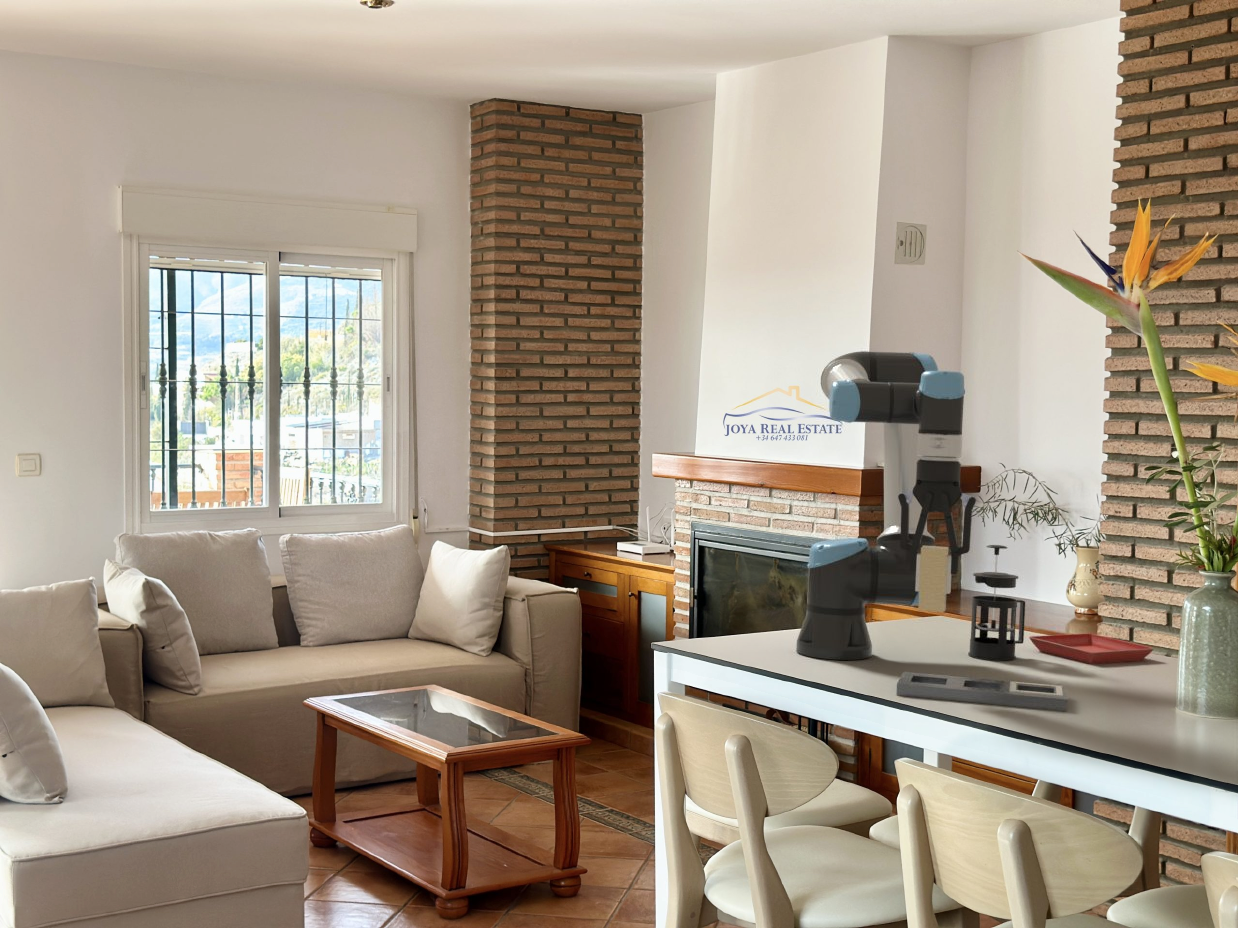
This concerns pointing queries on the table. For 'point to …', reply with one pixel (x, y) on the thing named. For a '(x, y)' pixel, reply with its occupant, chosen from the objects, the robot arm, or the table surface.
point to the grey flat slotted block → (983, 691)
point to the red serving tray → (1090, 648)
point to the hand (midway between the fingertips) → (932, 591)
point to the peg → (933, 578)
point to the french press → (986, 645)
